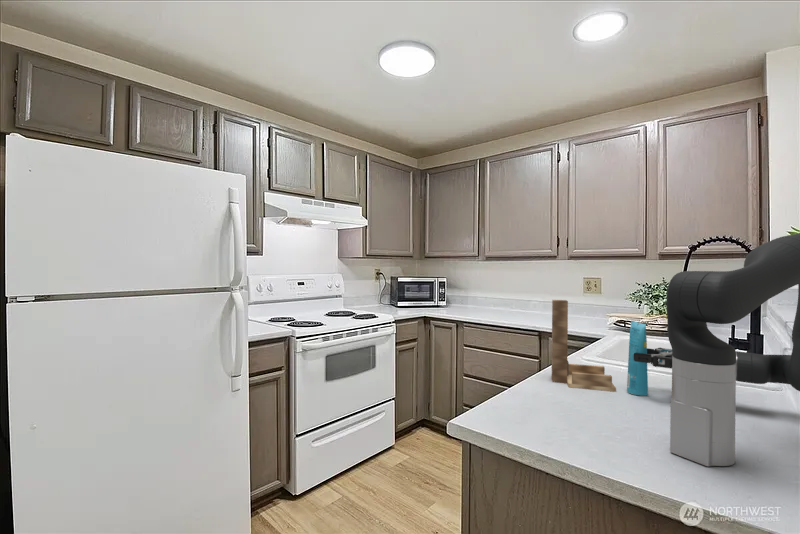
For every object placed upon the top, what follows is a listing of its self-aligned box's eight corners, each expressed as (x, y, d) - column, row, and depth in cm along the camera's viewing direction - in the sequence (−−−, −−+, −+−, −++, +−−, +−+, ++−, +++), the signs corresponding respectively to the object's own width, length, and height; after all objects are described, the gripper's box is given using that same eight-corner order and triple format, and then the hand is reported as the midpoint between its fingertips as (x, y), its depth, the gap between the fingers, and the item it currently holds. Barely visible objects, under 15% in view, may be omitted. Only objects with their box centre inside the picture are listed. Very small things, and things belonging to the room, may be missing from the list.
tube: (655, 397, 104) (655, 324, 104) (636, 397, 104) (637, 324, 104) (637, 389, 112) (637, 320, 112) (620, 389, 111) (620, 320, 111)
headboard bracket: (607, 379, 121) (607, 300, 121) (615, 391, 109) (616, 303, 109) (550, 375, 125) (551, 298, 125) (553, 385, 114) (554, 301, 114)
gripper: (711, 343, 104) (639, 336, 114) (712, 352, 93) (632, 344, 102) (711, 372, 104) (639, 362, 114) (712, 385, 93) (632, 373, 102)
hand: (636, 354), depth 108 cm, fingers open, 8 cm apart
